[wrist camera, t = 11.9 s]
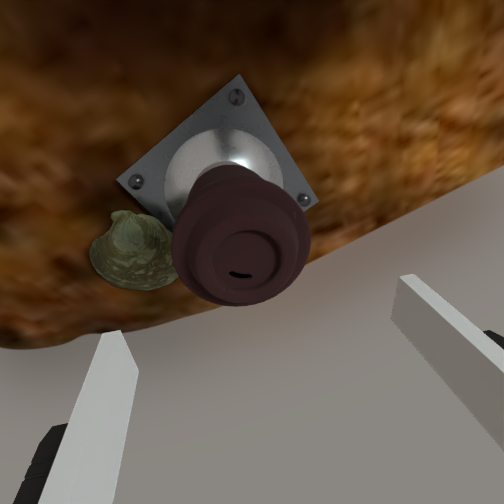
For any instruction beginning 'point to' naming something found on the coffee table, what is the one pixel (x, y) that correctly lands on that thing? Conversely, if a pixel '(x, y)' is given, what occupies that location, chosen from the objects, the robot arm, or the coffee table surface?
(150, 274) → the seashell
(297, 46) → the coffee table surface
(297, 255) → the coffee cup
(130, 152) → the coffee table surface
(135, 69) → the coffee table surface
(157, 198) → the duct flange
